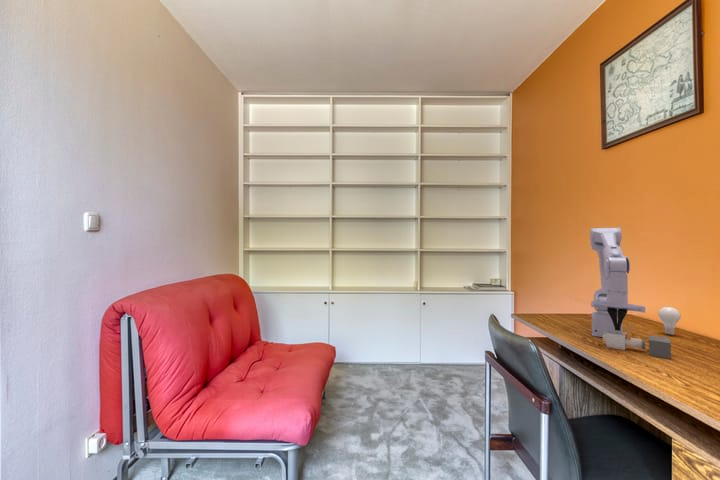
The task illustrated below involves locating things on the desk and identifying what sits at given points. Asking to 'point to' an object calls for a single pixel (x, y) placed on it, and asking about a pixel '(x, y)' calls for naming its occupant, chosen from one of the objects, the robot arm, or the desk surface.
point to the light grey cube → (615, 339)
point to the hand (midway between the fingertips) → (617, 330)
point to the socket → (659, 347)
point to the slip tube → (630, 339)
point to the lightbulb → (669, 318)
